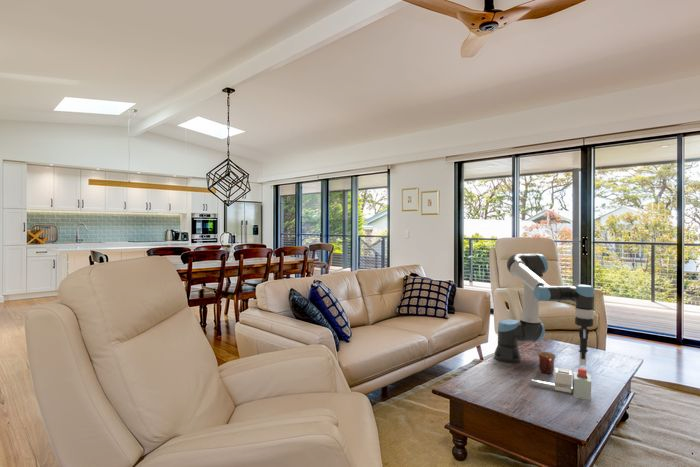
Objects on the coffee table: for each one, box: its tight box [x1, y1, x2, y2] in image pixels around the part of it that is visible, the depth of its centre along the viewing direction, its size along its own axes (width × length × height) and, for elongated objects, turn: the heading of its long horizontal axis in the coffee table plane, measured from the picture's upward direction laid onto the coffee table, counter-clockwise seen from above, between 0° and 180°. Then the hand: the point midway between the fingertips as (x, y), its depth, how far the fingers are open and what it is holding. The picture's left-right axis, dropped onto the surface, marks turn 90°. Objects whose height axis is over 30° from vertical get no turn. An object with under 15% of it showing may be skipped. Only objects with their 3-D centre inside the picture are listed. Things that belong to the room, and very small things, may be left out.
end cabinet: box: [572, 371, 592, 401], centre depth 189 cm, size 7×10×9 cm
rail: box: [530, 378, 573, 395], centre depth 195 cm, size 20×2×2 cm, turn 62°
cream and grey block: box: [554, 367, 573, 394], centre depth 192 cm, size 7×7×9 cm
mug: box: [537, 351, 556, 376], centre depth 214 cm, size 12×9×10 cm
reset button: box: [577, 368, 588, 377], centre depth 188 cm, size 4×4×3 cm
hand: (582, 364), depth 188 cm, fingers closed
